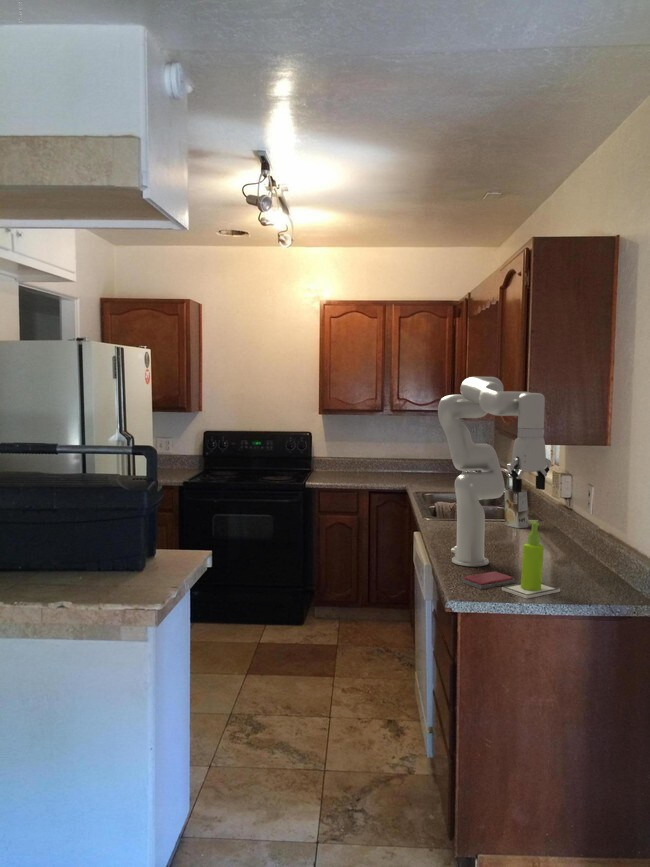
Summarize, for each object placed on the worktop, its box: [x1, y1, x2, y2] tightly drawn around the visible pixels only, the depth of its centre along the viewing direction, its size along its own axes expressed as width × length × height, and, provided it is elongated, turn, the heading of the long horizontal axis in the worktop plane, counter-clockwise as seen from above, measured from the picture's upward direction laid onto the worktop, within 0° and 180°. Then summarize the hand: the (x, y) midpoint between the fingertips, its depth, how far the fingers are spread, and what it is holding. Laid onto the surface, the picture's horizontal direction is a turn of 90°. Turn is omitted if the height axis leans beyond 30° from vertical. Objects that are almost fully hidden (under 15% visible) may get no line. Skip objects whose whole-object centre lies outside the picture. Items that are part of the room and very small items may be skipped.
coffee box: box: [504, 488, 530, 529], centre depth 309 cm, size 9×6×16 cm
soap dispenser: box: [520, 520, 545, 591], centre depth 212 cm, size 6×7×20 cm
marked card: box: [501, 582, 561, 600], centre depth 212 cm, size 10×14×1 cm
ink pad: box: [461, 571, 516, 590], centre depth 221 cm, size 9×14×2 cm, turn 120°
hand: (528, 490), depth 213 cm, fingers open, 9 cm apart
